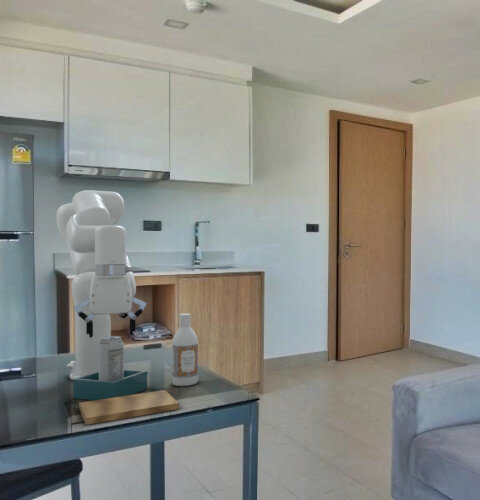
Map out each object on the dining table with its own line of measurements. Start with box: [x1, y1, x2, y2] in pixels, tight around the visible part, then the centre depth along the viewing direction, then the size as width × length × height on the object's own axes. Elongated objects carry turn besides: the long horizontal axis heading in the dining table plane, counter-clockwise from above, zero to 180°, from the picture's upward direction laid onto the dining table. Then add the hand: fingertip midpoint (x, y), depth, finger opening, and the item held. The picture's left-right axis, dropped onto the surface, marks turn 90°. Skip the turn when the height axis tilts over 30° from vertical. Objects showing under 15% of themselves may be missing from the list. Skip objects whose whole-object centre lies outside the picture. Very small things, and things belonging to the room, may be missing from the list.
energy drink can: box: [99, 335, 125, 382], centre depth 143 cm, size 6×6×15 cm
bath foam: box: [171, 313, 199, 387], centre depth 153 cm, size 7×7×20 cm
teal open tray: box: [72, 368, 148, 401], centre depth 143 cm, size 13×13×5 cm
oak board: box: [78, 389, 180, 426], centre depth 129 cm, size 20×14×2 cm
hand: (111, 335), depth 142 cm, fingers open, 9 cm apart
